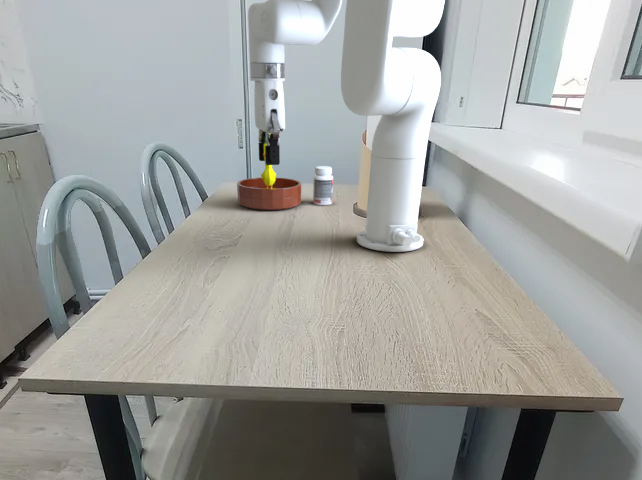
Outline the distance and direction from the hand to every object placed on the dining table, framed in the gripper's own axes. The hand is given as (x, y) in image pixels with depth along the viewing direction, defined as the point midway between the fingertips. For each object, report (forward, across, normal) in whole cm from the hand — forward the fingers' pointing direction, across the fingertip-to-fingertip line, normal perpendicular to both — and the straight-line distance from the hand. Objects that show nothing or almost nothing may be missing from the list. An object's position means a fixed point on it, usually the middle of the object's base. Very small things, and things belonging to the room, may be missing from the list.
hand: (269, 161), depth 123 cm
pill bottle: (+10, -2, -13) cm, 16 cm away
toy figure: (+7, 0, 0) cm, 7 cm away
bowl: (+10, 0, 0) cm, 10 cm away
